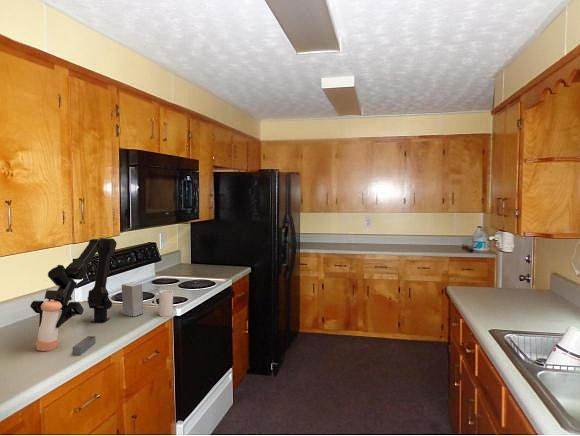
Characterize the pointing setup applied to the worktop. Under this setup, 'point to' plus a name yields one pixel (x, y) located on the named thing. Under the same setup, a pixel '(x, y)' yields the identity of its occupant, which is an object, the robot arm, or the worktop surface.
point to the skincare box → (132, 299)
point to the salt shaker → (49, 326)
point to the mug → (164, 303)
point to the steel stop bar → (83, 345)
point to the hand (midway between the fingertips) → (48, 327)
